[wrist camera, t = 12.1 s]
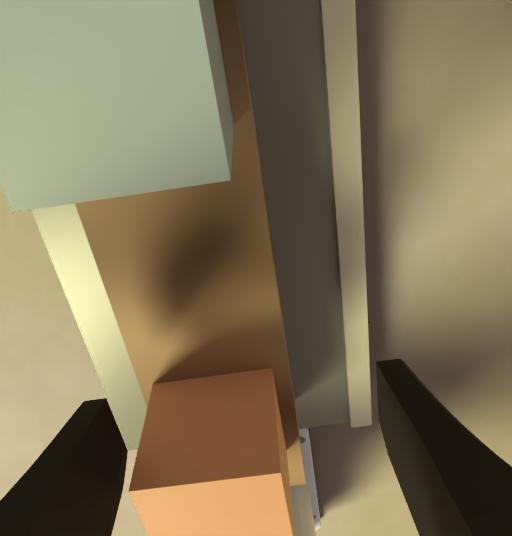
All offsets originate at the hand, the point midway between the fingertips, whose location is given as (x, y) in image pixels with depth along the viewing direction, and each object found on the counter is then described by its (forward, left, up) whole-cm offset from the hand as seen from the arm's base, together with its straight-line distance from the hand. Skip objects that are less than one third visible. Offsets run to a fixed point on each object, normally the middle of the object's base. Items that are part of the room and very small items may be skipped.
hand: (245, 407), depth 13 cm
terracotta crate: (-3, +1, -3) cm, 4 cm away
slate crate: (+9, +1, -3) cm, 9 cm away
